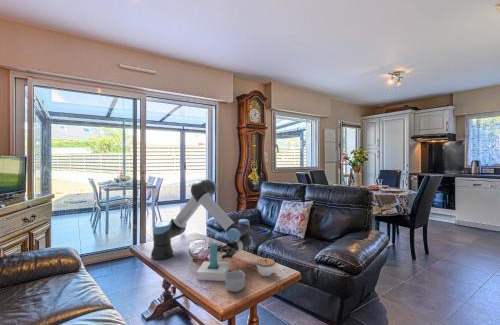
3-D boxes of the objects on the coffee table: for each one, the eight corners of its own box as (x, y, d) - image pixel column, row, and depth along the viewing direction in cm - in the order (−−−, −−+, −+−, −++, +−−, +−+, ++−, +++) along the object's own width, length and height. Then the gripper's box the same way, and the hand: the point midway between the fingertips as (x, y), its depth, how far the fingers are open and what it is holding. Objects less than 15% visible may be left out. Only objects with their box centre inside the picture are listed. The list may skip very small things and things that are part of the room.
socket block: (204, 268, 171) (203, 261, 171) (229, 269, 169) (229, 262, 169) (196, 279, 155) (196, 272, 155) (224, 280, 154) (224, 272, 153)
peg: (210, 272, 165) (210, 243, 164) (218, 272, 164) (217, 243, 164) (209, 275, 160) (208, 245, 160) (216, 276, 160) (216, 245, 159)
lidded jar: (276, 277, 157) (276, 261, 157) (258, 279, 155) (258, 262, 155) (272, 270, 168) (272, 254, 168) (255, 271, 166) (255, 256, 166)
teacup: (237, 296, 136) (237, 280, 136) (220, 291, 142) (220, 275, 142) (252, 285, 148) (252, 270, 148) (235, 280, 154) (235, 266, 154)
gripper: (249, 256, 168) (224, 267, 152) (220, 248, 184) (195, 257, 168) (248, 244, 168) (224, 254, 151) (220, 237, 184) (195, 245, 167)
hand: (209, 255), depth 159 cm, fingers open, 13 cm apart
